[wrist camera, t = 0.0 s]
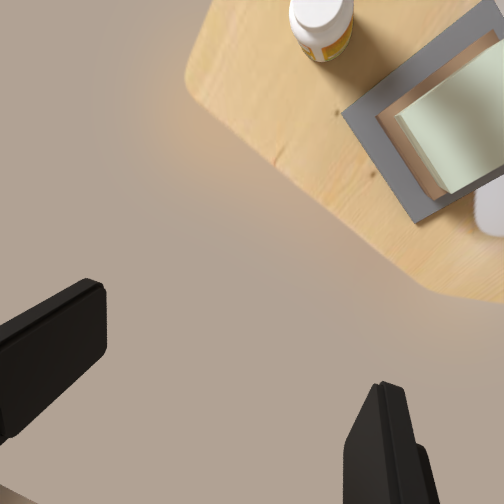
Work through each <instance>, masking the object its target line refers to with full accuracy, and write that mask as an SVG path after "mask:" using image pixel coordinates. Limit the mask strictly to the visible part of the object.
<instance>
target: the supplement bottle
mask: <svg viewBox="0 0 504 504" xmlns="http://www.w3.org/2000/svg"><path fill="white" fill-rule="evenodd" d="M353 9H354V0H291V3H290V8H289V20H290V25H291V29H292V31H293V34H294V36H295V37H296V39H297V41H298V43H299V45H300V46H301V48H302V50H303V52H304V53H305V54H306V55H307V56H308V57H309V58H310V59H312V60H314V61H318V62H326V61H330V60H332V59H334V58H336V57H337V56H339V55H340V54H341V53H342V52H343V51H344V49H345V48H346V46H347V45H348V43H349V40H350V38H351V34H352V29H353Z"/></svg>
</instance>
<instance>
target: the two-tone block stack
mask: <svg viewBox="0 0 504 504" xmlns="http://www.w3.org/2000/svg"><path fill="white" fill-rule="evenodd" d="M375 118H376V120H377V121H378V123H379V124H380V126H381V127H382V129H383V130H384V132H385V134H386V135H387V137H388V138H389V140H390V141H391V143H392V144H393V146H394V147H395V149H396V150H397V152H398V153H399V155H400V157H401V158H402V160H403V161H404V163H405V164H406V166H407V167H408V169H409V170H410V172H411V173H412V175H413V176H414V178H415V180H416V181H417V183H418V184H419V186H420V187H421V189H422V190H423V192H424V193H425V194H426V195H427V196H428V197H430V198H431V199H432V200H433V201H434V200H436V199H437V198H439V197H441V196H443V195H444V194H446V193H448V192H449V193H450V194H452V193H454V192H456V191H457V190H459V189H461V188H463V187H464V186H466V185H468V184H470V183H471V182H473V181H475V180H477V179H478V178H480V177H482V176H484V175H486V174H487V173H489V172H491V171H493V170H494V169H496V168H498V167H500V166H501V165H503V164H504V39H503V40H501V41H500V40H499V38H498V36H497V35H496V33H495V31H494V29H492V30H491V31H489V32H488V33H486V34H485V35H483V36H482V37H481V38H479V39H478V40H476V41H475V42H473V43H472V44H471V45H469V46H468V47H467V48H465V49H464V50H463V51H461V52H460V53H459V54H457V55H456V56H455V57H453V58H452V59H451V60H449V61H448V62H447V63H445V64H444V65H443V66H441V67H440V68H439V69H437V70H436V71H435V72H433V73H432V74H431V75H429V76H428V77H427V78H425V79H424V80H423V81H422V82H420V83H419V84H418V85H416V86H415V87H414V88H412V89H411V90H410V91H408V92H407V93H406V94H404V95H403V96H402V97H400V98H399V99H398V100H396V101H395V102H394V103H392V104H391V105H390V106H388V107H387V108H386V109H384V110H383V111H382V112H380V113H379V114H378V115H376V116H375Z"/></svg>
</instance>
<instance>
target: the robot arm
mask: <svg viewBox="0 0 504 504" xmlns="http://www.w3.org/2000/svg"><path fill="white" fill-rule="evenodd" d="M106 304H107V303H106V290H105V289H104V286H103V284H102V283H100V282H97V281H94V280H91V279H88V278H85V279H82V280H80V281H78V282H77V283H75V284H73V285H71V286H70V287H68V288H66V289H64V290H63V291H61V292H59V293H57V294H55V295H54V296H52V297H50V298H48V299H46V300H45V301H43V302H41V303H39V304H38V305H36V306H34V307H32V308H31V309H29V310H27V311H25V312H24V313H22V314H20V315H18V316H16V317H14V318H13V319H11V320H9V321H7V322H6V323H4V324H2V325H0V445H2V444H3V443H4V442H5V441H6V440H7V439H8V438H13V437H14V436H16V435H17V434H19V433H20V432H21V431H22V430H23V429H24V428H25V427H26V426H27V425H28V424H30V423H31V422H32V421H33V420H34V419H35V418H36V417H37V416H38V415H39V414H40V413H41V412H43V410H45V409H46V408H47V407H48V406H49V405H50V404H51V403H52V402H53V401H54V400H55V399H57V398H58V397H59V396H60V395H61V394H62V393H63V392H64V391H65V390H66V389H67V388H68V387H70V386H71V385H72V384H73V383H74V382H75V381H76V380H77V379H78V378H79V377H80V376H82V375H83V374H84V373H85V372H86V371H87V370H88V369H89V368H90V367H91V366H92V365H93V364H95V362H97V361H98V360H99V359H100V358H101V357H102V356H103V355H104V353H105V351H106V349H107V308H106V307H107V306H106ZM0 504H37V503H35V502H33V501H31V500H29V499H27V498H26V497H24V496H22V495H20V494H18V493H16V492H14V491H12V490H10V489H8V488H6V487H4V486H2V485H0ZM343 504H440V502H439V498H438V494H437V490H436V486H435V482H434V478H433V474H432V470H431V466H430V462H429V458H428V455H427V452H426V449H425V448H424V447H423V446H422V445H420V444H417V443H416V442H415V437H414V433H413V428H412V424H411V419H410V415H409V410H408V406H407V401H406V397H405V392H404V389H403V388H402V387H399V386H396V385H393V384H390V383H387V382H384V381H382V382H381V383H380V384H379V385H378V384H373V386H372V387H371V389H370V391H369V394H368V396H367V398H366V400H365V402H364V404H363V406H362V408H361V410H360V412H359V414H358V416H357V418H356V420H355V422H354V424H353V426H352V429H351V431H350V433H349V435H348V437H347V439H346V441H345V445H344V452H343Z"/></svg>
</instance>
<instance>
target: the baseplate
mask: <svg viewBox="0 0 504 504" xmlns="http://www.w3.org/2000/svg"><path fill="white" fill-rule="evenodd" d="M492 29H494V31H495V33H496V35H497V36H498V38H499V40H500V41H501V40H503V39H504V17H503V16H502V14H501V12H500V10H499V9H498V7H497V5H496V3H495V1H494V0H482V1H481V2H480V3H478V4H477V5H476V6H475V7H473V8H472V9H471V10H470V11H468V12H467V13H466V14H465V15H463V16H462V17H461V18H460V19H458V20H457V21H456V22H455V23H453V24H452V25H451V26H449V27H448V28H447V29H446V30H444V31H443V32H442V33H441V34H439V35H438V36H437V37H436V38H434V39H433V40H432V41H431V42H429V43H428V44H427V45H426V46H424V47H423V48H422V49H421V50H419V51H418V52H417V53H416V54H414V55H413V56H412V57H411V58H409V59H408V60H407V61H406V62H404V63H403V64H402V65H401V66H399V67H398V68H397V69H396V70H394V71H393V72H392V73H391V74H389V75H388V76H387V77H386V78H384V79H383V80H382V81H381V82H379V83H378V84H377V85H376V86H374V87H373V88H372V89H370V90H369V91H368V92H367V93H365V94H364V95H363V96H362V97H360V98H359V99H358V100H357V101H355V102H354V103H353V104H352V105H350V106H349V107H348V108H347V109H345V110H344V111H343V112H342V113H341V115H342V116H343V118H344V119H345V121H346V122H347V124H348V125H349V127H350V128H351V130H352V131H353V133H354V134H355V136H356V137H357V139H358V140H359V142H360V143H361V145H362V146H363V148H364V149H365V151H366V152H367V154H368V155H369V157H370V158H371V160H372V161H373V163H374V164H375V166H376V167H377V169H378V170H379V172H380V173H381V175H382V176H383V178H384V179H385V181H386V182H387V184H388V185H389V187H390V188H391V190H392V191H393V193H394V194H395V196H396V197H397V199H398V200H399V202H400V203H401V205H402V206H403V208H404V209H405V211H406V212H407V214H408V215H409V217H410V218H411V220H412V221H413V222H414V224H415V223H416V222H418V221H420V220H422V219H424V218H425V217H427V216H429V215H431V214H433V213H435V212H436V211H438V210H440V209H442V208H444V207H445V206H447V205H449V204H451V203H453V202H454V201H456V200H458V199H460V198H462V197H463V196H465V195H467V194H469V193H471V192H472V191H474V190H476V189H478V188H480V187H481V186H483V185H485V184H487V183H489V182H490V181H492V180H494V179H496V178H498V177H499V176H501V175H503V174H504V164H503V165H501V166H500V167H498V168H496V169H494V170H493V171H491V172H489V173H487V174H486V175H484V176H482V177H480V178H478V179H477V180H475V181H473V182H471V183H470V184H468V185H466V186H464V187H463V188H461V189H459V190H457V191H456V192H454V193H452V194H450V193H449V192H448V193H446V194H444V195H443V196H441V197H439V198H437V199H436V200H434V201H433V200H432V199H431V198H430V197H428V196H427V195H426V194H425V193H424V192H423V190H422V189H421V187H420V186H419V184H418V183H417V181H416V180H415V178H414V176H413V175H412V173H411V172H410V170H409V169H408V167H407V166H406V164H405V163H404V161H403V160H402V158H401V157H400V155H399V153H398V152H397V150H396V149H395V147H394V146H393V144H392V143H391V141H390V140H389V138H388V137H387V135H386V134H385V132H384V130H383V129H382V127H381V126H380V124H379V123H378V121H377V120H376V118H375V116H376V115H378V114H379V113H380V112H382V111H383V110H384V109H386V108H387V107H388V106H390V105H391V104H392V103H394V102H395V101H396V100H398V99H399V98H400V97H402V96H403V95H404V94H406V93H407V92H408V91H410V90H411V89H412V88H414V87H415V86H416V85H418V84H419V83H420V82H422V81H423V80H424V79H425V78H427V77H428V76H429V75H431V74H432V73H433V72H435V71H436V70H437V69H439V68H440V67H441V66H443V65H444V64H445V63H447V62H448V61H449V60H451V59H452V58H453V57H455V56H456V55H457V54H459V53H460V52H461V51H463V50H464V49H465V48H467V47H468V46H469V45H471V44H472V43H473V42H475V41H476V40H478V39H479V38H481V37H482V36H483V35H485V34H486V33H488V32H489V31H491V30H492Z"/></svg>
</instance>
